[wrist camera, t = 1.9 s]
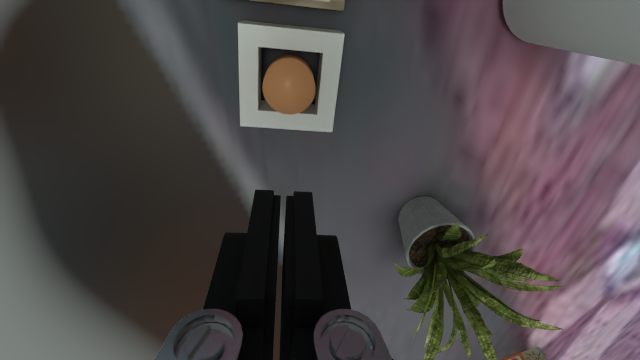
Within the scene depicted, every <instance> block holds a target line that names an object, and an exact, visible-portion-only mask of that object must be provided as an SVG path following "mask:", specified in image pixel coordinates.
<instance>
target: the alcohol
mask: <svg viewBox="0 0 640 360" xmlns="http://www.w3.org/2000/svg"><path fill="white" fill-rule="evenodd" d="M502 4H503V14H504V17H505V21H506V24H507V25H508V27H509V29H510V30H511V32H512V33H513V34H514V35H515V36H516V37H517V38H519V39H521V40H523V41H524V42H528V43H532V44H537V45H542V46H547V47H552V48H556V49H561V50H566V51H571V52H576V53H581V54H586V55H591V56H596V57H601V58H606V59H611V60H616V61H620V62H625V63H630V64H635V65H640V0H503V3H502Z"/></svg>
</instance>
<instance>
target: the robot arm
mask: <svg viewBox="0 0 640 360" xmlns="http://www.w3.org/2000/svg"><path fill="white" fill-rule="evenodd" d="M280 199H281V196H279V195H274V191H273V190H255V195H254V200H253V205H252V211H251V216H250V222H249V227H248V233H225V235H224V238H223V241H222V245H221V248H220V252H219V255H218V259H217V262H216V266H215V270H214V273H213V277H212V280H211V284H210V287H209V291H208V294H207V298H206V301H205V305H204V308H203V310H200V311H197V312H194V313H192V314H190V315H188V316H186V317H185V318H183V319H182V320H181V321H180V322H179V323H177V324H176V325H175V326H174V328H173V329H172V331H171V332H170V333H169V335H168V337H167V339H166V340H165V342H164V344H163V346H162V348H161V350H160V352H159V353H158V355H157V357H156V359H155V360H273V339H274V322H275V321H274V320H275V302H276V282H277V262H278V241H279V220H280ZM281 301H282V302H281V331H280V333H281V334H280V360H393V359H392V358H391V356H390V354H389V351H388V349H387V347H386V344H385V342H384V340H383V337H382V335H381V333H380V331H379V329H378V328H377V326H376V324H375V323H374V322H372V321H371V320H370V319H369V318H368V317H367V316H365V315H363V314H362V313H360V312H358V311H354V310H351V306H350V301H349V296H348V291H347V286H346V280H345V275H344V270H343V265H342V260H341V255H340V249H339V244H338V240H337V237H336V236H332V235H317V234H316V225H315V216H314V206H313V197H312V192H296V191H294V195H293V196H287V199H286V215H285V233H284V250H283V268H282V300H281Z"/></svg>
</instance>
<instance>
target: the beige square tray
mask: <svg viewBox="0 0 640 360" xmlns="http://www.w3.org/2000/svg"><path fill="white" fill-rule="evenodd" d="M251 1H260V2H269V3H278V4H287V5H296V6H304V7H313V8H322V9H331V10H340V11H344V5H345V0H251Z"/></svg>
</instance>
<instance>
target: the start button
mask: <svg viewBox="0 0 640 360" xmlns="http://www.w3.org/2000/svg"><path fill="white" fill-rule="evenodd" d="M315 90H316V87H315V81H314V77H313V73H312V70H311V68H310V66H309V65H308V64H307V63H306V61H304V60H303V59H302V58H300V57H298V56H295V55H282V56H280V57H277V58H276V59H274V60H273V61H272V62H271V63H270V65H269V66H268V68H267V71H266V74H265V77H264V80H263V94H264V97H265V99H266V101H267V103H268V104H269V105H270V106H271V107H272V108H273V109H274V110H276V111H277V112H280V113H283V114H290V115H291V114H297V113H300V112H302V111H304V110H305V109H306V108H308V107H309V105H310V104H311V103H312V101H313V99H314V96H315Z"/></svg>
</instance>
